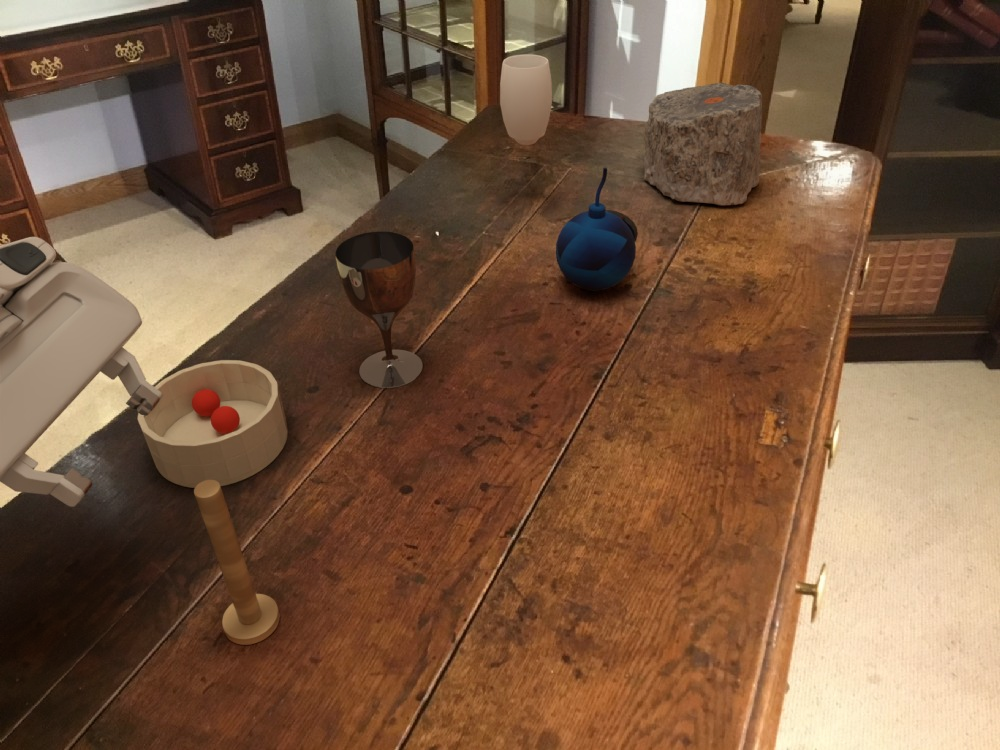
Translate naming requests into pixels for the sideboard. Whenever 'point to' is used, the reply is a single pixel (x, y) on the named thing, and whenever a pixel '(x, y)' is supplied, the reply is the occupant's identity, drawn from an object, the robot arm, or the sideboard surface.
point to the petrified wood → (705, 143)
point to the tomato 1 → (205, 402)
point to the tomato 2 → (225, 419)
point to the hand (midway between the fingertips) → (121, 448)
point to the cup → (526, 97)
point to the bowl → (191, 438)
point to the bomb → (597, 246)
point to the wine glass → (381, 298)
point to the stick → (235, 572)
